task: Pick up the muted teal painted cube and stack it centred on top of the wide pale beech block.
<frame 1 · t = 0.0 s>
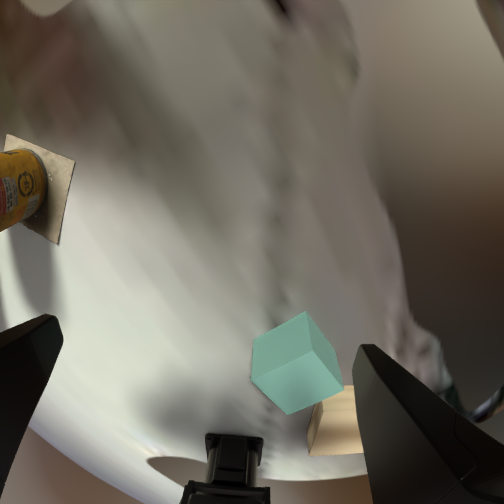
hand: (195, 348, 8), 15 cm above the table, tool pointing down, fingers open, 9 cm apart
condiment: (32, 186, 22), on the table
teal cube: (295, 344, 26), on the table
beech block: (349, 408, 30), on the table
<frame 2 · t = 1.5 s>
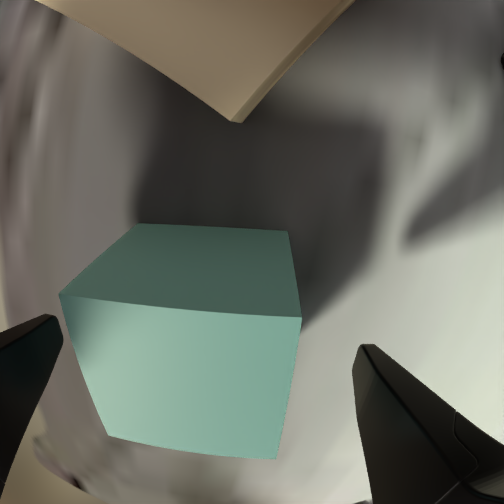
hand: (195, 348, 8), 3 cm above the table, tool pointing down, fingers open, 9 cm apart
teal cube: (210, 293, 11), on the table
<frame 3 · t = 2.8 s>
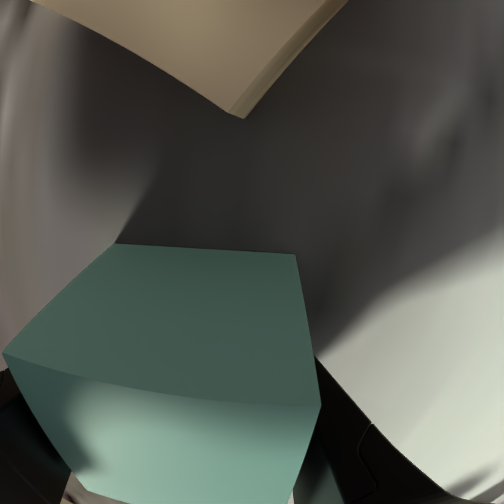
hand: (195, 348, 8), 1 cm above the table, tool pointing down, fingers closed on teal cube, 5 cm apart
teal cube: (201, 326, 9), on the table, touching gripper
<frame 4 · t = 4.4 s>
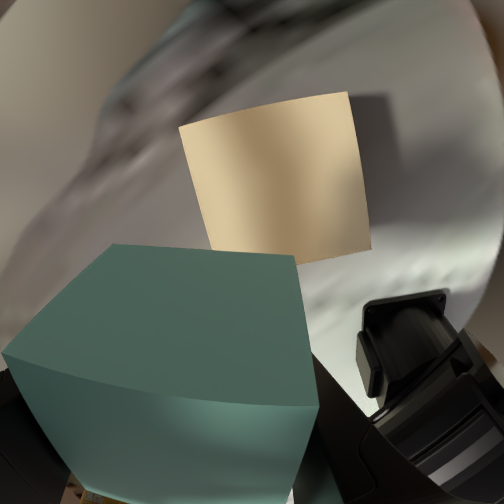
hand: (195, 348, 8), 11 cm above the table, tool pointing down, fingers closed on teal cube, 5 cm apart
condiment: (122, 458, 31), on the table
teal cube: (200, 327, 9), point 10 cm above the table, touching gripper
beech block: (278, 177, 18), on the table
when the fingers open (6 cm above the table, at t = 6.4 s): teal cube drops 2 cm, resting on beech block.
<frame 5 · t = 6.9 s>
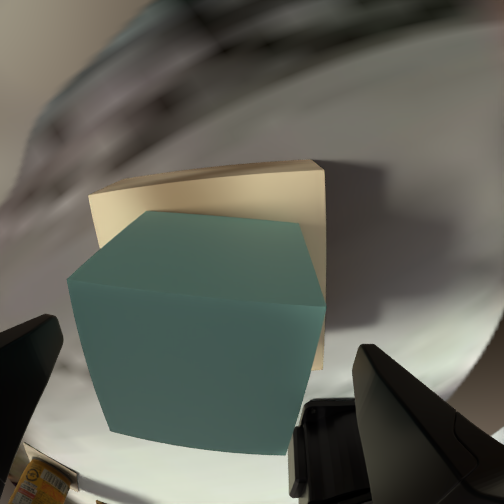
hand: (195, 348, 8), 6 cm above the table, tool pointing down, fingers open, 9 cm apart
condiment: (52, 467, 26), on the table
teal cube: (217, 285, 11), point 3 cm above the table, touching beech block
beech block: (224, 254, 15), on the table, touching teal cube
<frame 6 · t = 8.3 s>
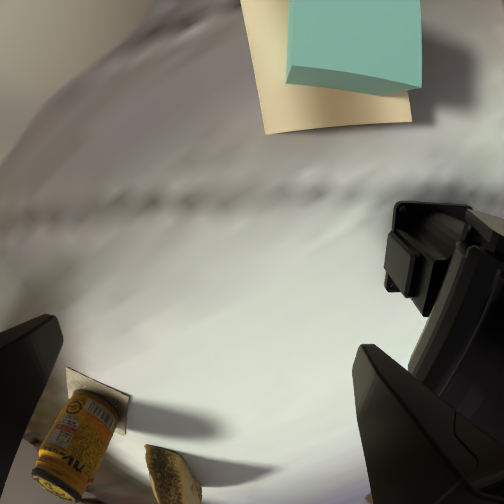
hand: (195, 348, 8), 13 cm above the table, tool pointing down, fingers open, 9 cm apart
rock: (177, 467, 33), on the table
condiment: (97, 402, 29), on the table
teal cube: (335, 44, 13), point 3 cm above the table, touching beech block
beech block: (320, 64, 17), on the table, touching teal cube
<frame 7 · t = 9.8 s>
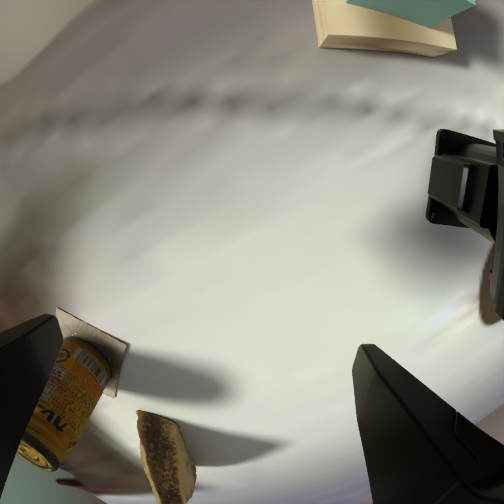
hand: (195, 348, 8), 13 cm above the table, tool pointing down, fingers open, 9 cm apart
rock: (170, 440, 31), on the table
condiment: (87, 354, 26), on the table
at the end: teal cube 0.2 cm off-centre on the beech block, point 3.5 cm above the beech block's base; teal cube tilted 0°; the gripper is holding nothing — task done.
